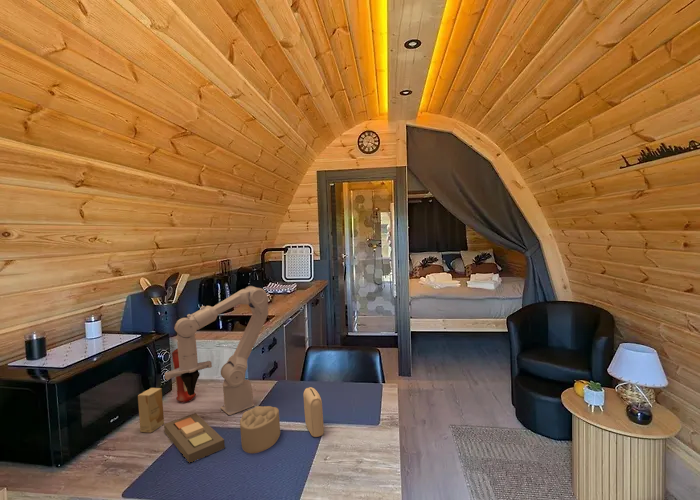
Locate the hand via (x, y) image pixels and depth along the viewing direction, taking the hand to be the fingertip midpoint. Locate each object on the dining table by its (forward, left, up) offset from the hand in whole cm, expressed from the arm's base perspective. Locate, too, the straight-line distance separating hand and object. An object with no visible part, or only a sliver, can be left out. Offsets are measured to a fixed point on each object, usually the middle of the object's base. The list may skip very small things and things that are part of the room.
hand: (191, 394), depth 124 cm
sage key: (+4, +19, -9) cm, 21 cm away
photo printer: (-25, +35, -10) cm, 44 cm away
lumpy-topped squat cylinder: (-10, +28, -10) cm, 31 cm away
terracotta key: (+4, +5, -9) cm, 11 cm away
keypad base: (+4, +12, -9) cm, 16 cm away
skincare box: (+11, -6, -10) cm, 16 cm away
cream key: (+4, +12, -8) cm, 15 cm away
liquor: (-4, -20, -10) cm, 23 cm away
